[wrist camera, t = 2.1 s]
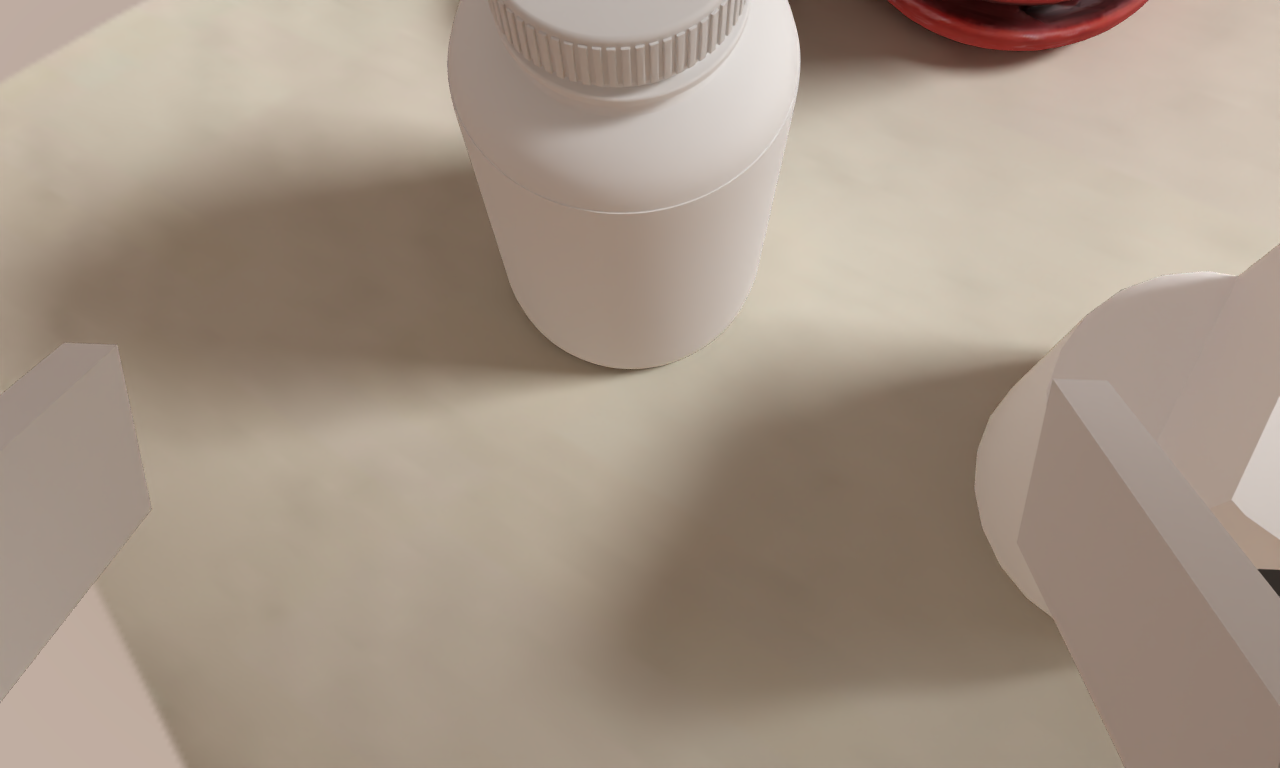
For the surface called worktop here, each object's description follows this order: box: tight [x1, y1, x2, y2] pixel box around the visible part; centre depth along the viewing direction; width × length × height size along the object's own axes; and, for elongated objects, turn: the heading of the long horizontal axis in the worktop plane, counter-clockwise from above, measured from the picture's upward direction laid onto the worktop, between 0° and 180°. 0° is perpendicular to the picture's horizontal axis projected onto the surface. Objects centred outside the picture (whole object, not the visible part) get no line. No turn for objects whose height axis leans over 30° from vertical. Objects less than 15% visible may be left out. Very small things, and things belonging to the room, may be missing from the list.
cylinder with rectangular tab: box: [974, 244, 1280, 618], centre depth 27 cm, size 9×9×12 cm
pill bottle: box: [447, 0, 800, 369], centre depth 28 cm, size 8×8×15 cm
